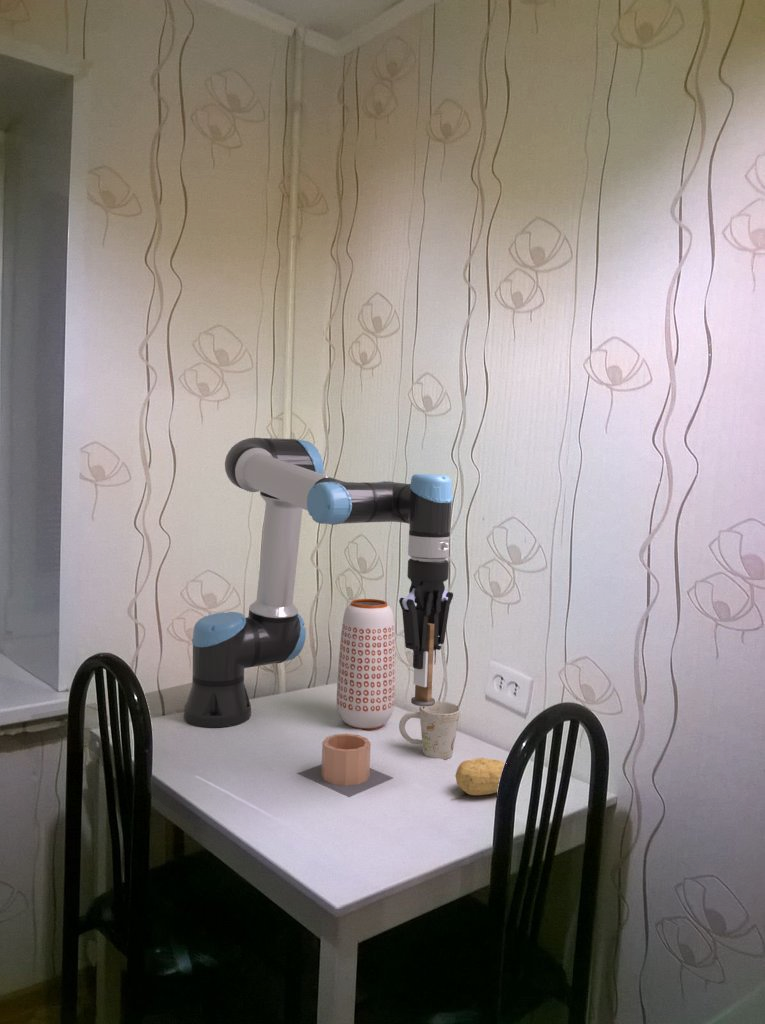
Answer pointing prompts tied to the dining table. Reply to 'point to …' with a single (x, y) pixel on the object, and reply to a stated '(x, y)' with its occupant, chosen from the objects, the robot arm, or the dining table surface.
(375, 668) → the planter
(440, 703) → the mug
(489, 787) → the potato
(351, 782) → the jar
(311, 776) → the mat
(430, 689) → the long wooden stick
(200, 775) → the dining table surface
